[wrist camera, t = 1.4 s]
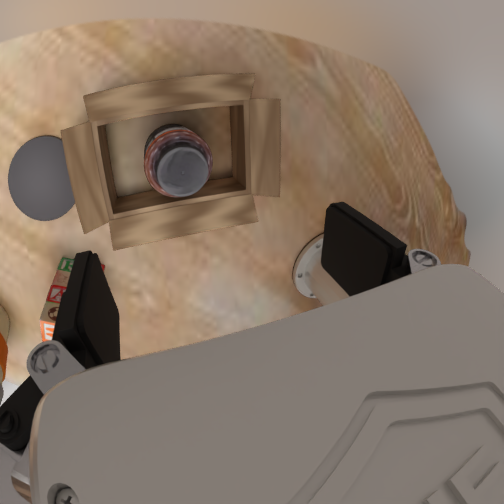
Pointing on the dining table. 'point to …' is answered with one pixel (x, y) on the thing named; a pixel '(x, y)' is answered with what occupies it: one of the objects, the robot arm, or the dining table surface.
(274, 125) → the carton
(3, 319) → the reusable coffee cup
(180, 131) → the supplement bottle
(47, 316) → the stack of blocks
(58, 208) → the coaster
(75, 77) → the dining table surface
